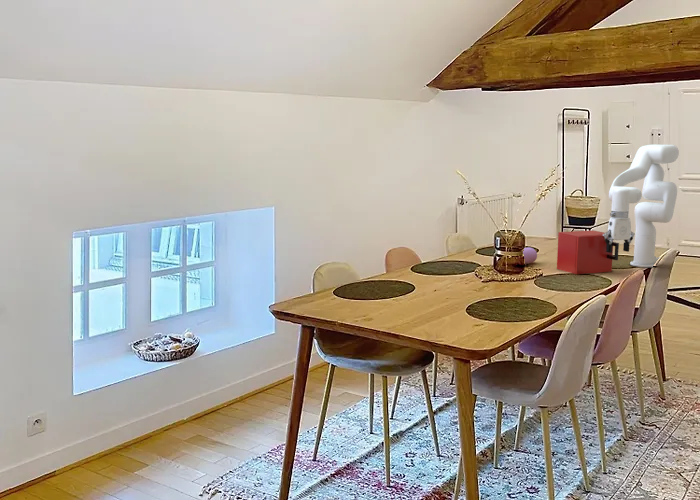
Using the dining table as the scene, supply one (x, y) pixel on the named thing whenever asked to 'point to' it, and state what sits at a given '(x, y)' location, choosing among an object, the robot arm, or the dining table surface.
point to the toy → (529, 255)
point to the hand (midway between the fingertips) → (617, 251)
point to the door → (594, 255)
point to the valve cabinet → (570, 248)
